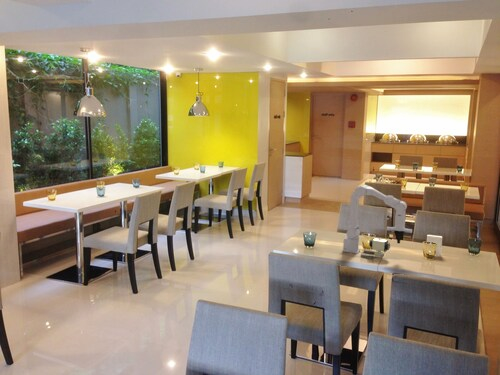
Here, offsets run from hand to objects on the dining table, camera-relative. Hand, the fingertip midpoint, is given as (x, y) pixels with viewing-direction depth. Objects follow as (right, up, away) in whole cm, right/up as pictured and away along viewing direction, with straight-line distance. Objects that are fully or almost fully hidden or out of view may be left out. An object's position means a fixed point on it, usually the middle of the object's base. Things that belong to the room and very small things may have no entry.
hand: (398, 243), depth 275 cm
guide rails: (-16, -9, +9) cm, 20 cm away
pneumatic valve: (-10, -10, +6) cm, 15 cm away
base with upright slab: (+27, -9, +13) cm, 31 cm away
